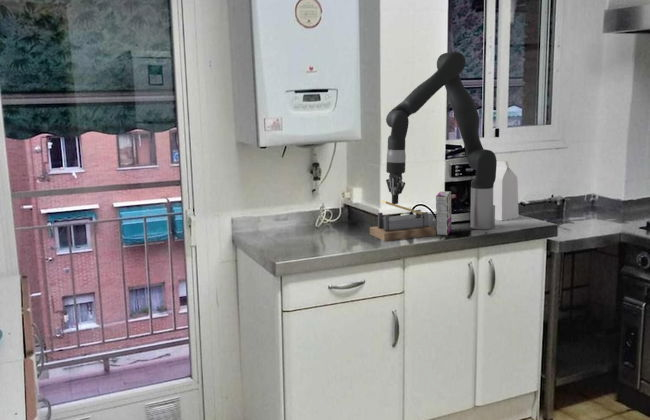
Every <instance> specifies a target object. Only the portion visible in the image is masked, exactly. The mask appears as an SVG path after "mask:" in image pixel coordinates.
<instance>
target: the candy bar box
mask: <svg viewBox="0 0 650 420" xmlns="http://www.w3.org/2000/svg"><path fill="white" fill-rule="evenodd" d="M435 210H436V211H435V213H436V216H435V217H436V218H435V220H436V224H435V225H436V227H435V228H436V236H449V234H450V233H451V231H452V191H439V193H437V194H436V196H435Z"/></svg>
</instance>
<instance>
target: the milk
mask: <svg viewBox="0 0 650 420" xmlns="http://www.w3.org/2000/svg"><path fill="white" fill-rule="evenodd" d="M518 183H519V181H518V176H517V175H516V174H515V173H514V171H513V170H512V169H511V168H510V167H509V163H508V161H507V160H497V166H496V179H495V182H494V187H493V205H495V219H496V220H495V221H499V220H504V221H508V220H507V219H509V220H513V219H512V218H514V219H518V218H517V217H519V189H518V186H519V184H518ZM519 218H520V217H519Z"/></svg>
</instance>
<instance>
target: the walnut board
mask: <svg viewBox="0 0 650 420" xmlns="http://www.w3.org/2000/svg"><path fill="white" fill-rule="evenodd" d="M370 235H371V236H373V237H375V238H377V239H379V240H381V241H384V242H390V241H397V240H399V241H400V240H405V239H414V238H424V237H432V236H437V234H436V227H434V226H431V225H429V224H428V227H423V228H415V229H406V230H397V231H384V229H379V228H378V225H377V226H370V227H369V236H370Z"/></svg>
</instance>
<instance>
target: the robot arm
mask: <svg viewBox="0 0 650 420" xmlns="http://www.w3.org/2000/svg"><path fill="white" fill-rule="evenodd" d="M466 63H467V61H466V58H465V56H464V54H462V52H459V51H450V52H445V53H442V54H440V55H439V56H438V58H437V60H436V68H437V70H436V71H435V72H434V73H433V74H432V75H431V76H430V77H428V78H427V79H426V80H425V81H422V83H420V84H419V85H417V87H416V88H414V89H413V90H412V91H411V92H410V93H409V94H408V95H407V96H406V97H405V98H404V99H403V100H402V101H401V102H400V103H399V104H397V105H396V106H395V107H393V109H391V110H390V111H389V112H388V114H387V115H386V119H385V123H386V124H387V126H388V127H389V128H391V132H390V135H389V136H388V138H387V153H386V167H385V168H386V171H385V172H386V173H387V174H388V175H389V176H388V179H386V180H385V181H386V184H387V189H388V192H389V193H390V195H391V203H393V204H396V205H399V195H400V194H402V192H403V190H404V188H405V186H406V182H405V181H403V174H405V173H406V159H407V158H406V157H407V155H406V154H407V153H406V137H407V134H408V130H409V129H408V128H409V117H410V116H411V115H413V114H416V113H418V111H420V110H421V108H422V107H423V106H424V105H425V104H426V103H427V102H428V101H429V100H430V99H431V98H432V97H433V96H434V95H435V94H436V93H438V91H439V90H440V89H441V88H443V86H444V87H445V88H444V89H445V90H446V93H447V97H448V99H449V102H450V105H451V109H452V112H453V114H454V118H455V121H456V123H457V126H458V131H459V132H460V135H461V138H462V141H463V145H464V150H465V154H466V155H465V156H466V159H467V163H468V166H469V168H471V169H472V170H473V171H475V176H474V179H472V180H471V181H470V220H469V221H470V223H469V224H470V228H471V229H474V230H475V229H476V230H490V229H493V228H495V227H496V225H495V224H496V220H495V205H493V187H494V182H495V179H496V166H497V161H498V160H497V156H496V153H494V152H493V151H492V150H491V149H485V148H484V147H483V144H482V142H481V138H480V134H479V133H480V132H479V130H480V115H479V112H478V111H479V110H478V108H477V105H476V102H475V101H474V99H473V97H472V96H471V94H470V93H469V92H468V90H467V88H465V86H464V84H463V81H462V79H461V76H460V74H461V73H462V72H463V71H464V70H465V67H466Z"/></svg>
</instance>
